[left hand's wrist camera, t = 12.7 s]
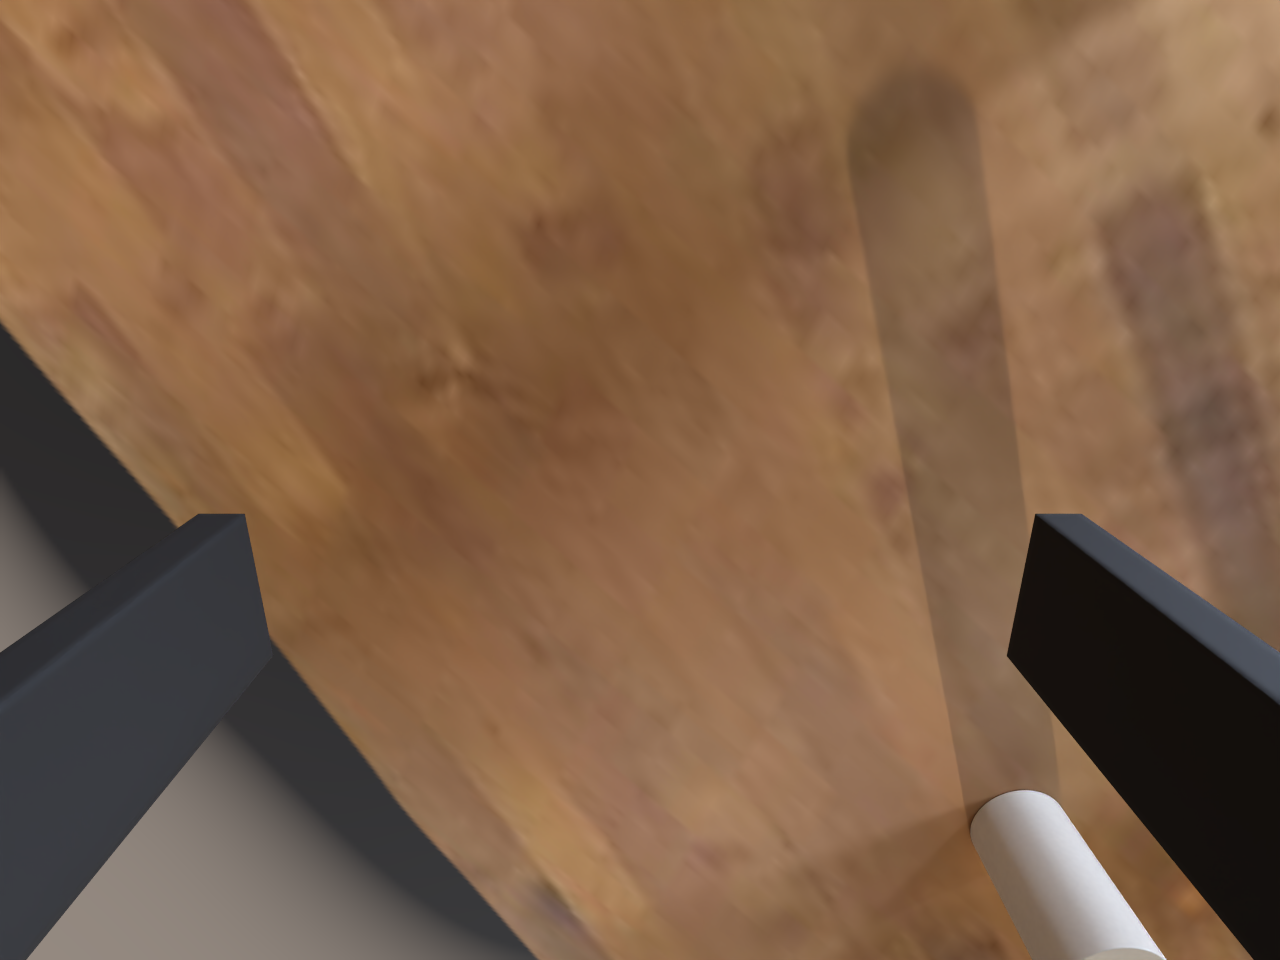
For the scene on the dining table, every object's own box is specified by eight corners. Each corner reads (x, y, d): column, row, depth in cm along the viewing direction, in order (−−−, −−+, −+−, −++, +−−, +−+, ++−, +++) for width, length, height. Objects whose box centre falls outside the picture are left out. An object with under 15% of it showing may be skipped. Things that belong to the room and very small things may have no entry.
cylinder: (1056, 779, 48) (1167, 935, 38) (1070, 847, 50) (1180, 1013, 40) (961, 804, 49) (1045, 964, 39) (979, 870, 51) (1064, 1039, 41)
